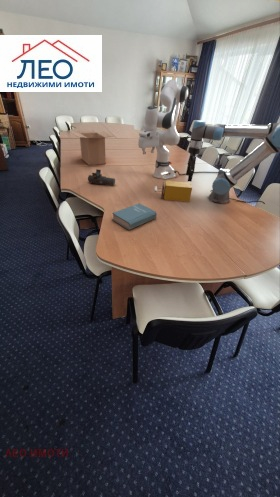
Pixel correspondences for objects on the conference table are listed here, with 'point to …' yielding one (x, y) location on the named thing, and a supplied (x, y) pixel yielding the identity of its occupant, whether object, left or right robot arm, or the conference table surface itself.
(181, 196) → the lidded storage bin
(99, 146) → the box
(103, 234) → the conference table surface
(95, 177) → the laser sight
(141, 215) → the book
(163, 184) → the drawer
